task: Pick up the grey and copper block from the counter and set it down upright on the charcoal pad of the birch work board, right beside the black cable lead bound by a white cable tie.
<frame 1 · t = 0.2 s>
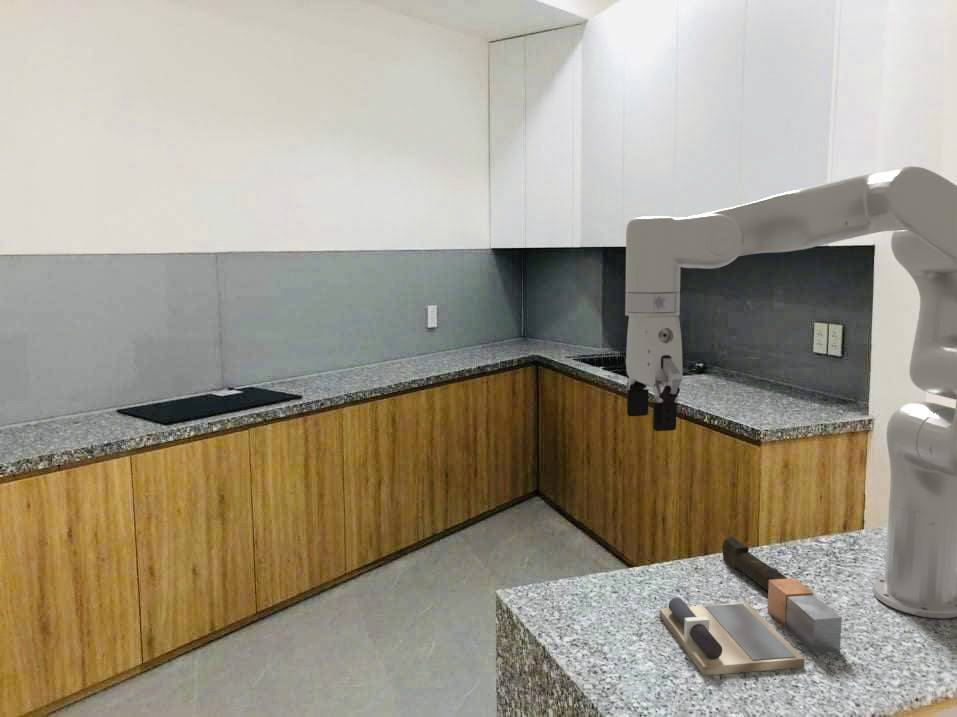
hand: (650, 422, 104), 31 cm above the counter, fingers open, 9 cm apart
grey and copper block: (802, 630, 104), on the counter
hand tool: (751, 581, 121), on the counter
work board: (726, 639, 102), on the counter
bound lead: (693, 642, 101), resting on work board
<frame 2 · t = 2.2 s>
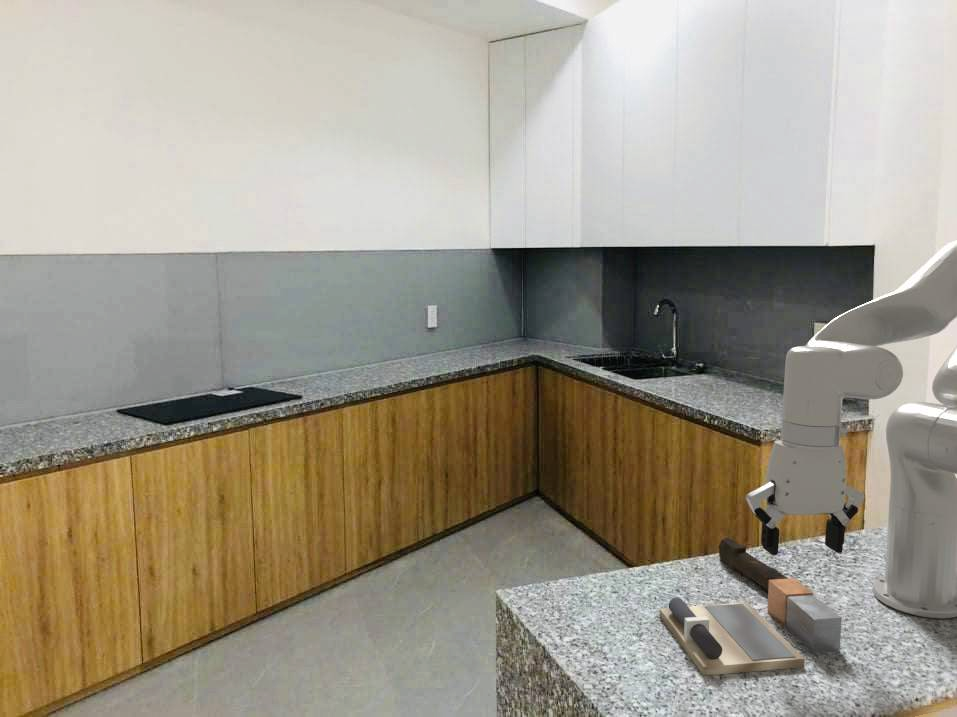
hand: (801, 550, 102), 12 cm above the counter, fingers open, 9 cm apart
nothing on the counter moved.
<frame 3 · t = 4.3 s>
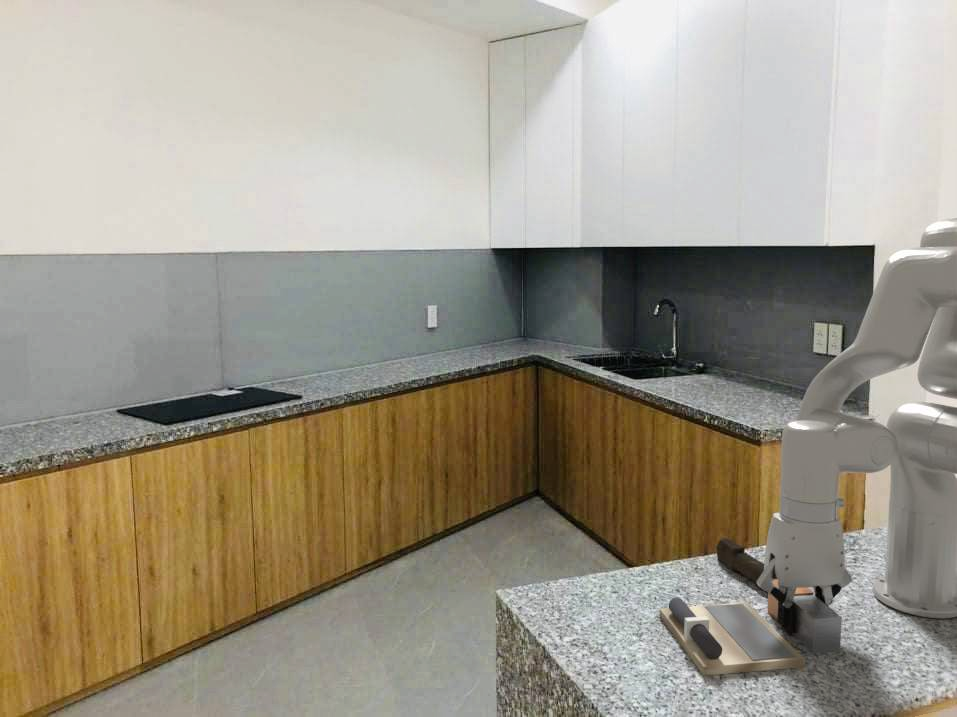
hand: (802, 626, 104), 1 cm above the counter, fingers closed on grey and copper block, 4 cm apart
grey and copper block: (802, 630, 104), on the counter, touching gripper
everything else where it was.
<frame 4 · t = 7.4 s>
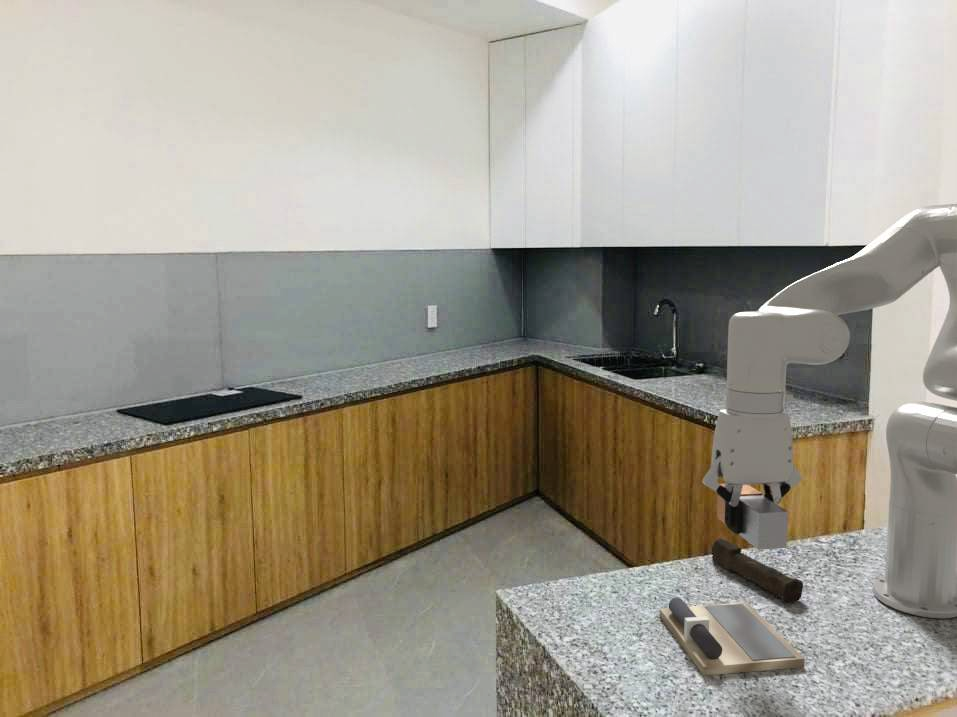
hand: (750, 528, 100), 17 cm above the counter, fingers closed on grey and copper block, 4 cm apart
grey and copper block: (750, 531, 100), point 16 cm above the counter, touching gripper
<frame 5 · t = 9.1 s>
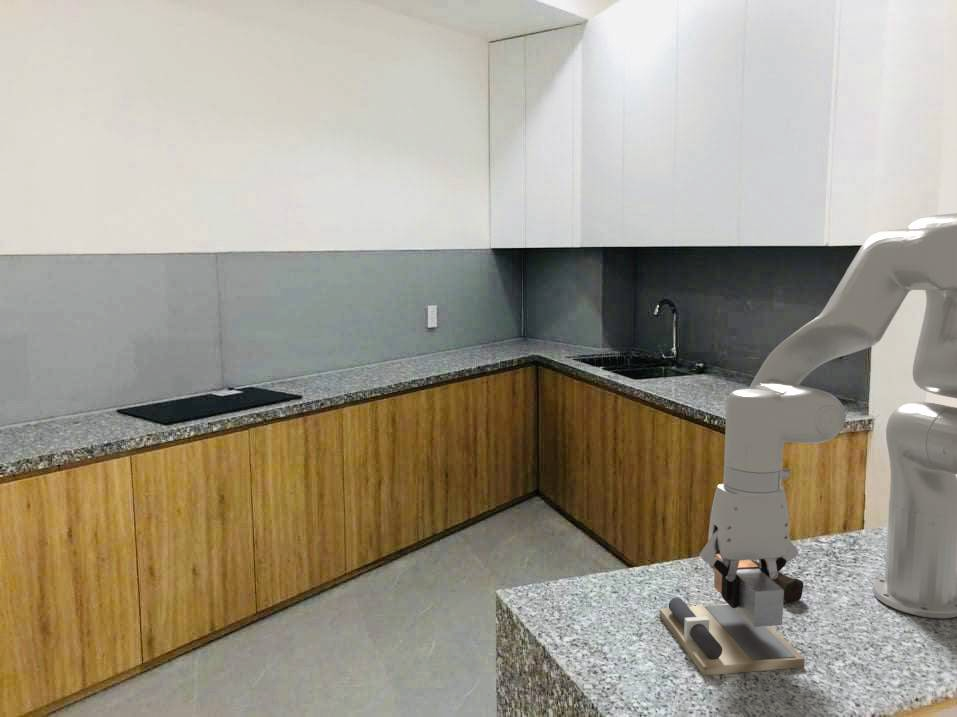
hand: (746, 601, 101), 6 cm above the counter, fingers closed on grey and copper block, 4 cm apart
grey and copper block: (746, 605, 102), point 5 cm above the counter, touching gripper
when the fingers open (3 cm above the counter, at t = 10.4 s): grey and copper block drops 1 cm, resting on work board.
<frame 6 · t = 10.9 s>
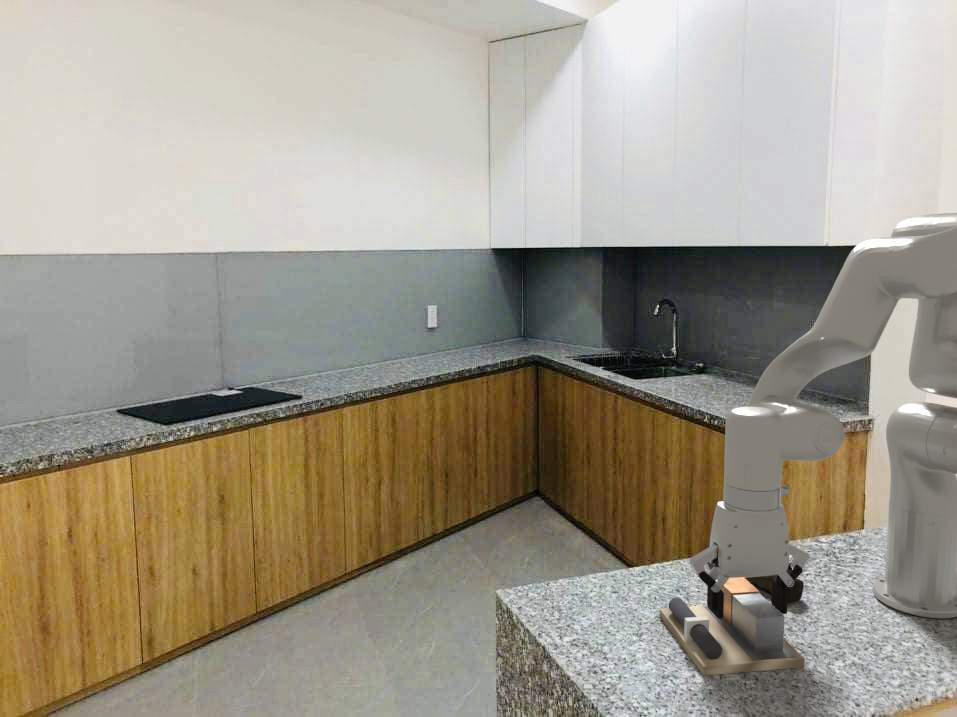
hand: (747, 611, 102), 4 cm above the counter, fingers open, 9 cm apart
grey and copper block: (747, 629, 102), point 1 cm above the counter, touching work board
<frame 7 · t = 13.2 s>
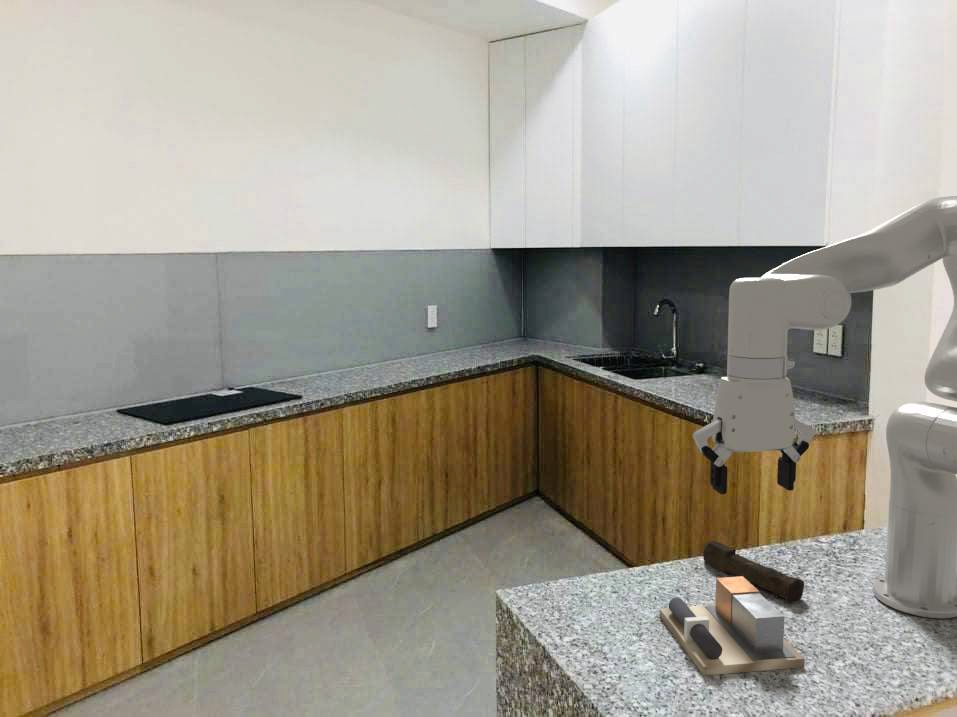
hand: (752, 489, 99), 22 cm above the counter, fingers open, 9 cm apart
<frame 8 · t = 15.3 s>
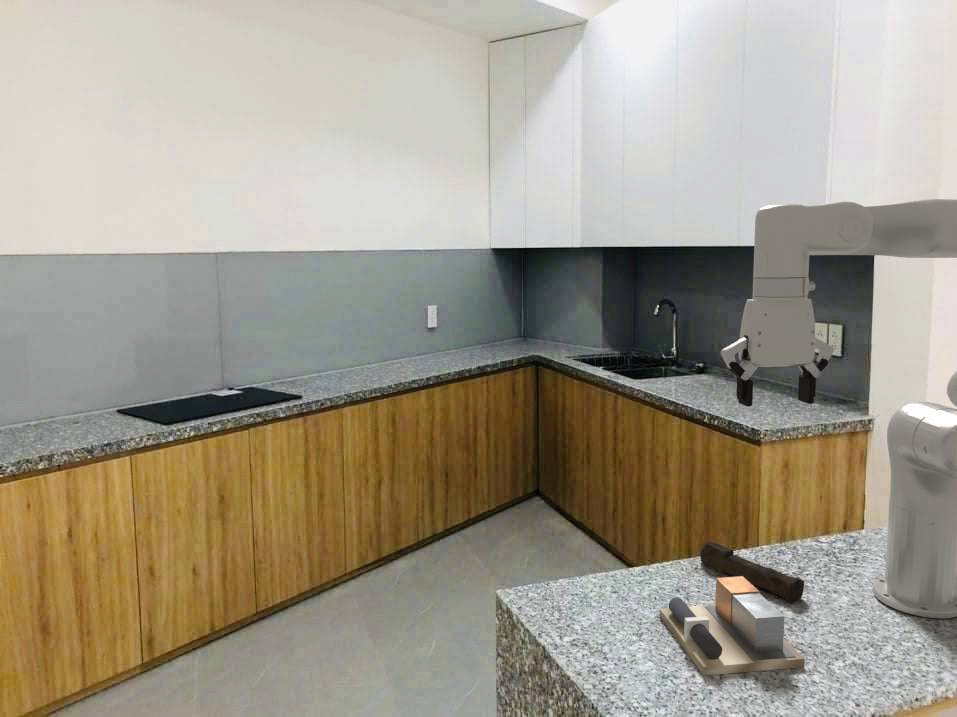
hand: (775, 403, 108), 32 cm above the counter, fingers open, 9 cm apart
at the end: grey and copper block inside the target area (0.4 cm from its centre), point 1.3 cm above the counter; grey and copper block tilted 0°; the gripper is holding nothing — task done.
